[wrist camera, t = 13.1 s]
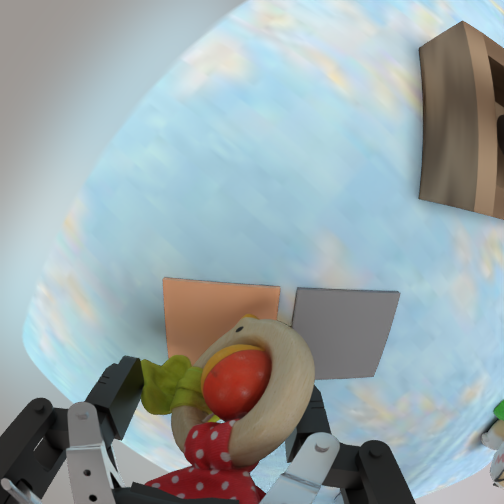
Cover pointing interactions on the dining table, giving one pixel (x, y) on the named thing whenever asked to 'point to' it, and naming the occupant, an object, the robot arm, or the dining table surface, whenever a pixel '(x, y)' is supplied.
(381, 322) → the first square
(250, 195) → the dining table surface
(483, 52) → the button frame
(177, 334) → the tile
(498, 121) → the dome button
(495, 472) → the kitten
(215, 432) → the bird rattle
